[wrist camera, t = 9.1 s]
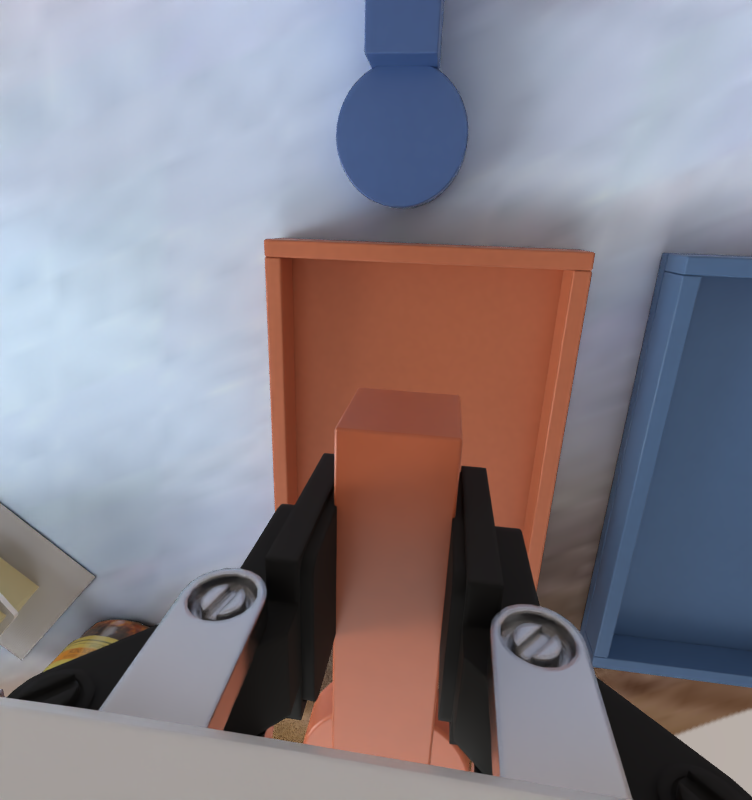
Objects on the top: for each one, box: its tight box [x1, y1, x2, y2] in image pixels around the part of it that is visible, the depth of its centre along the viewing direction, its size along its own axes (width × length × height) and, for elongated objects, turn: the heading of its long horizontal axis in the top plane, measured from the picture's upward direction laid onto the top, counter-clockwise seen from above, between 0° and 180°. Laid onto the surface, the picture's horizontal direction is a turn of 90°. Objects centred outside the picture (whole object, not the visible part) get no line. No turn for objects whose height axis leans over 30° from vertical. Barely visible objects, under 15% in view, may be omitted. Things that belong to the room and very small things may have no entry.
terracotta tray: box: [264, 238, 595, 591], centre depth 21 cm, size 17×11×2 cm, turn 178°
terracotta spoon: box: [303, 388, 470, 772], centre depth 11 cm, size 12×4×2 cm, turn 178°
